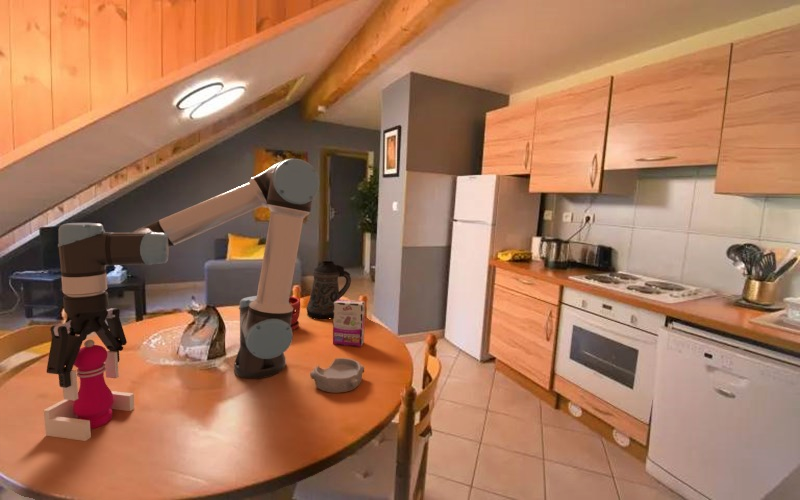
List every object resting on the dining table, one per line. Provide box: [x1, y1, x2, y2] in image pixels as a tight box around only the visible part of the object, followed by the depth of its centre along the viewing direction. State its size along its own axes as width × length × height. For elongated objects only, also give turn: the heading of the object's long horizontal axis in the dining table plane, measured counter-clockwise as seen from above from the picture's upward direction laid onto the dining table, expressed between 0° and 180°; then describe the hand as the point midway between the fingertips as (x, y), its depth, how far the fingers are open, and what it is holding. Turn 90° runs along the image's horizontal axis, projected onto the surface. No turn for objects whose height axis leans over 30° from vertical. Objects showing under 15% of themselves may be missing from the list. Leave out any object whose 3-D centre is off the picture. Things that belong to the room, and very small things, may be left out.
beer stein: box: [305, 260, 352, 320], centre depth 168 cm, size 16×19×25 cm
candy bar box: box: [332, 299, 366, 348], centre depth 135 cm, size 11×5×16 cm, turn 83°
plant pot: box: [289, 296, 301, 331], centre depth 147 cm, size 13×13×12 cm
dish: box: [309, 357, 365, 394], centre depth 106 cm, size 14×14×5 cm
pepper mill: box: [73, 339, 114, 430], centre depth 82 cm, size 7×7×20 cm
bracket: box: [43, 390, 135, 442], centre depth 83 cm, size 10×12×6 cm
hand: (92, 387), depth 82 cm, fingers open, 9 cm apart
